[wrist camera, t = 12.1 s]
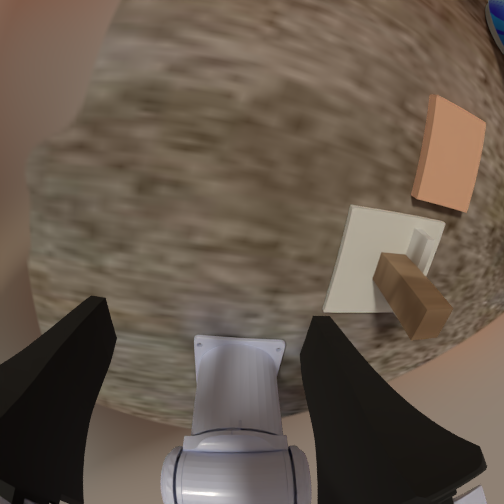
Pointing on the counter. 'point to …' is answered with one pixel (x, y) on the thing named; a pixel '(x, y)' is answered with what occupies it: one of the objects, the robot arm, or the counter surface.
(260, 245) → the counter surface
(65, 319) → the robot arm
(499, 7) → the beer can
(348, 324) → the counter surface
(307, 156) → the counter surface
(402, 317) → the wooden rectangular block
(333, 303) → the mat
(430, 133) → the tile
